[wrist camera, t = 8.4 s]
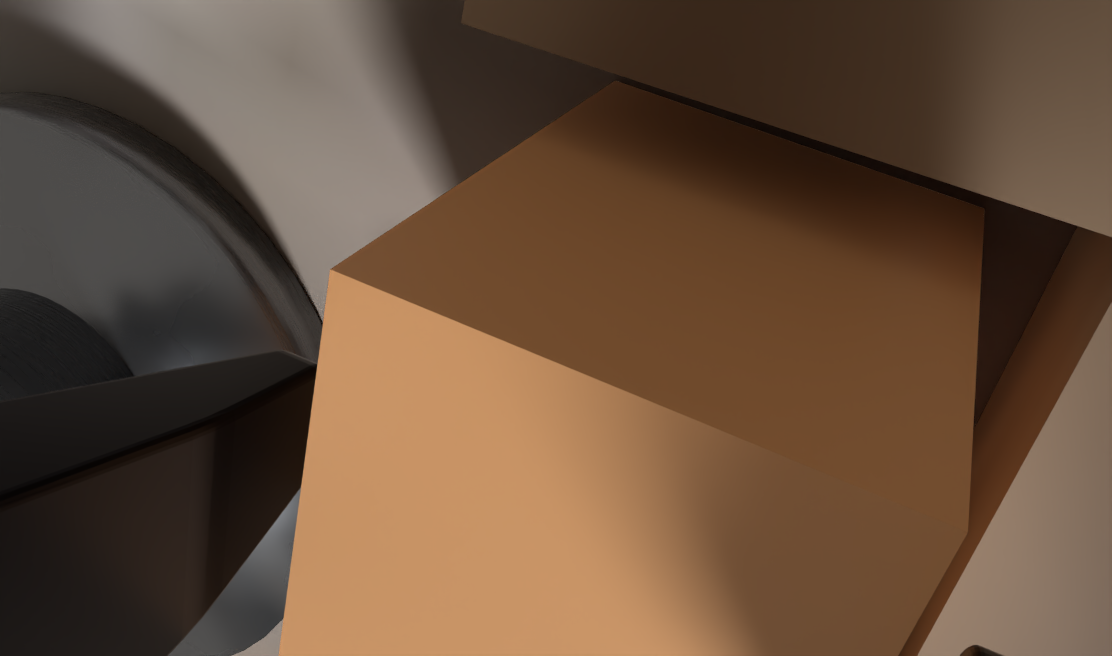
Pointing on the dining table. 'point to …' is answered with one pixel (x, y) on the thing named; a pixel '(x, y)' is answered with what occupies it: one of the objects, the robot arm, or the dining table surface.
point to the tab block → (642, 404)
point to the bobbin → (139, 293)
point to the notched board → (964, 161)
